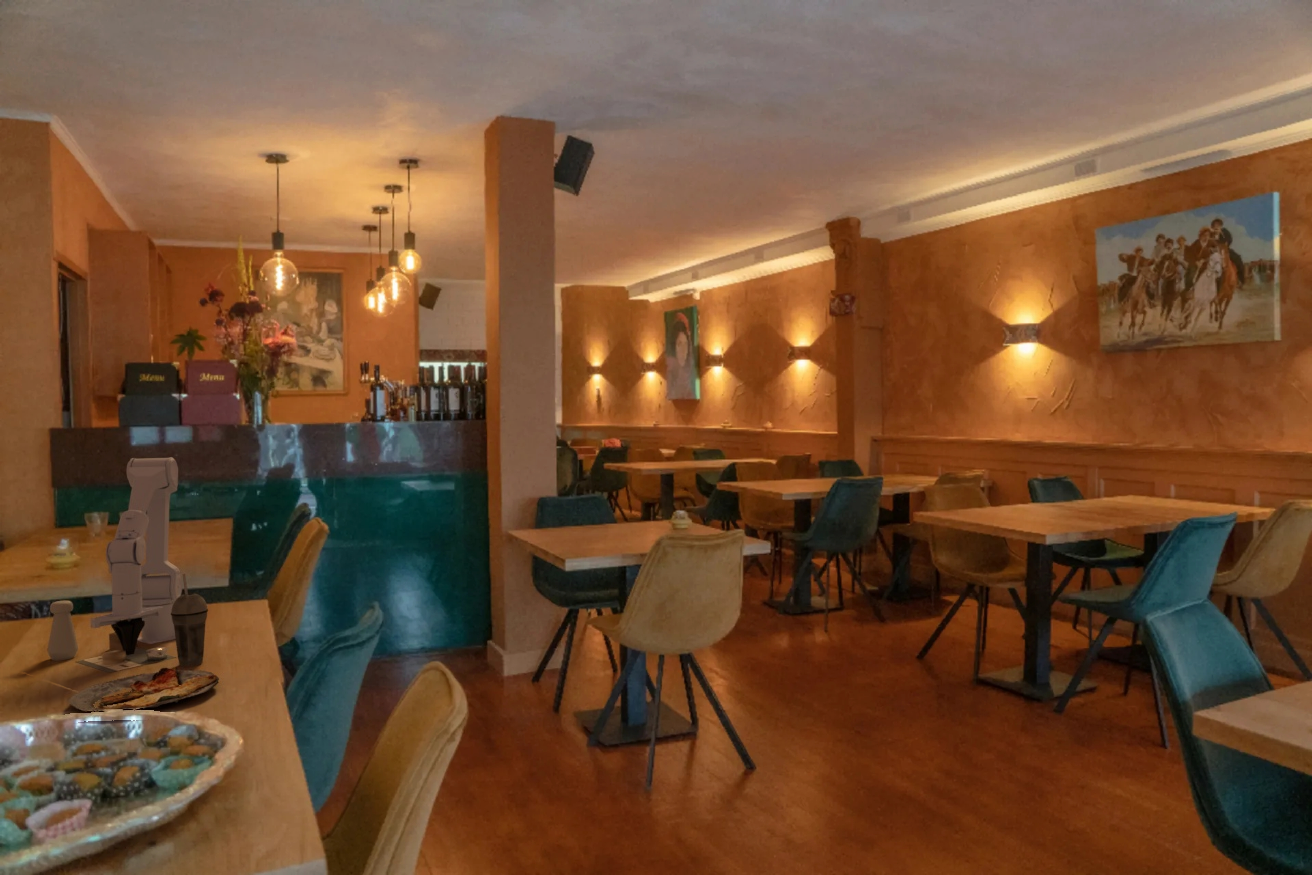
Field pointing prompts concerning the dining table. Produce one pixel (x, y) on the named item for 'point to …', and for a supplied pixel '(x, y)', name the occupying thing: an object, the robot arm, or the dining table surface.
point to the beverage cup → (189, 627)
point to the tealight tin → (156, 654)
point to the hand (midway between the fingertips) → (128, 653)
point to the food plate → (146, 689)
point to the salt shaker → (62, 632)
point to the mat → (131, 661)
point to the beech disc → (114, 657)
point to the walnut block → (115, 642)
